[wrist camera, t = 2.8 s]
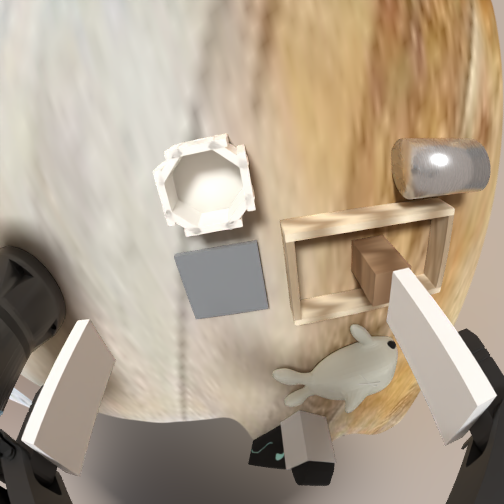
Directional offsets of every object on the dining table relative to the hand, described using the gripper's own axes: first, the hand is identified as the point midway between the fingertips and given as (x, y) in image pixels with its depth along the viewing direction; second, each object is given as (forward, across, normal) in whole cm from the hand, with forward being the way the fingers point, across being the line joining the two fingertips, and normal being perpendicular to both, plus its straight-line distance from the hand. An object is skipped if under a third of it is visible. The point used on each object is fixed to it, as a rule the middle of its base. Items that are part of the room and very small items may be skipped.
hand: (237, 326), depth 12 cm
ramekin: (+19, -3, +2) cm, 19 cm away
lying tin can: (+20, +21, 0) cm, 29 cm away
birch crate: (+19, +13, -10) cm, 25 cm away
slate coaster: (+19, -4, -10) cm, 22 cm away
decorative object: (+20, -1, -52) cm, 55 cm away
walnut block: (+19, +13, -10) cm, 26 cm away
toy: (+20, +9, -29) cm, 36 cm away
